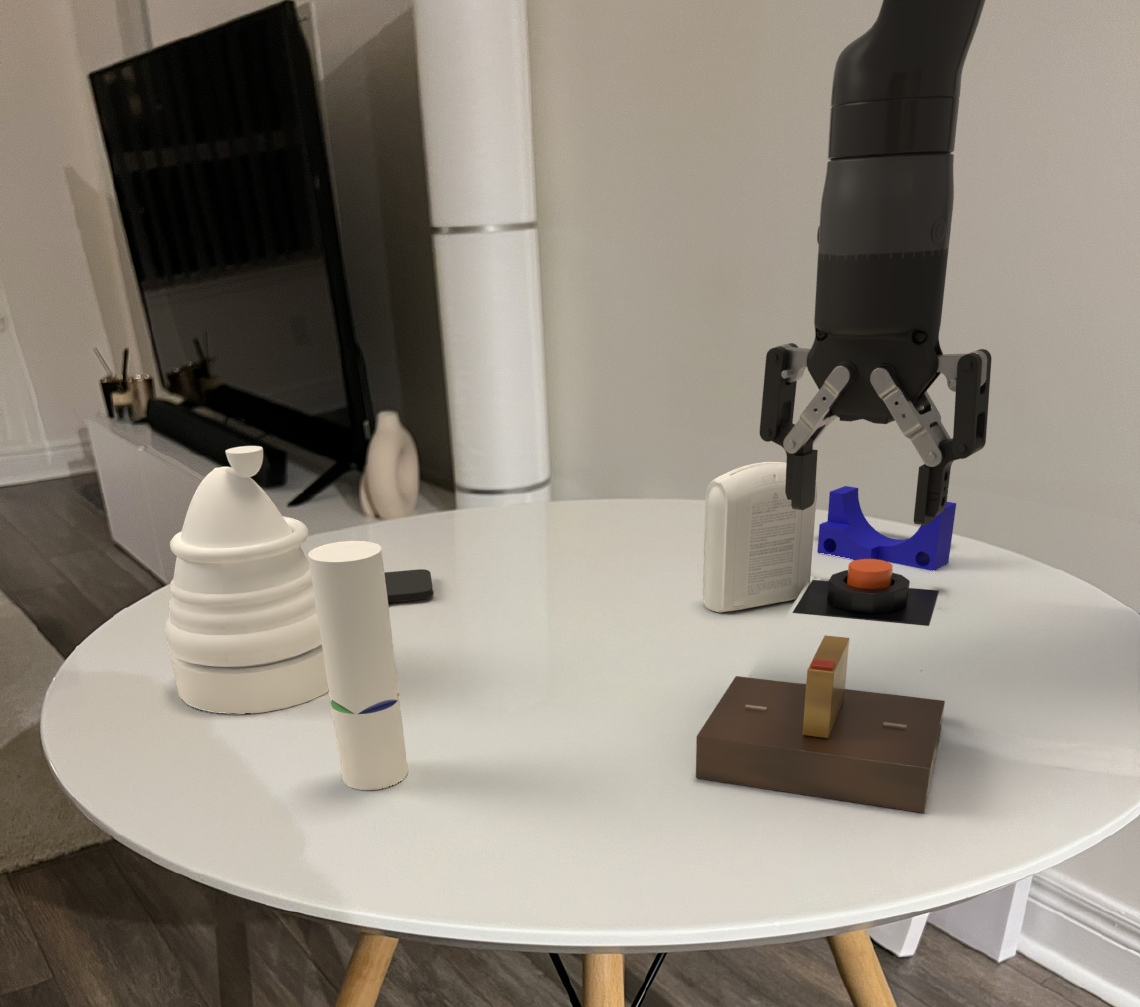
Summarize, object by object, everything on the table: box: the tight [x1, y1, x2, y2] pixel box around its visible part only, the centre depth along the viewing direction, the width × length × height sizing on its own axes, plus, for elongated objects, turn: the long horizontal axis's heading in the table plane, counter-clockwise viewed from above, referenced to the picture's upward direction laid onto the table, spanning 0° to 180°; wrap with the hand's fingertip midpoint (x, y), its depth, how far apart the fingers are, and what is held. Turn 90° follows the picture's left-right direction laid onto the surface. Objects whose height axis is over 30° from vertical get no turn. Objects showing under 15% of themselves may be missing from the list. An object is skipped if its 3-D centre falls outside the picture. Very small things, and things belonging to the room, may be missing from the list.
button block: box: [792, 569, 940, 627], centre depth 91 cm, size 11×9×4 cm
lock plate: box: [695, 675, 946, 814], centre depth 69 cm, size 14×10×3 cm
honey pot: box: [164, 445, 329, 715], centre depth 81 cm, size 13×13×18 cm
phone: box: [384, 568, 434, 603], centre depth 103 cm, size 7×1×15 cm
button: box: [847, 559, 894, 589], centre depth 90 cm, size 4×4×2 cm
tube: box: [307, 540, 409, 791], centre depth 67 cm, size 4×4×15 cm
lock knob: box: [803, 634, 850, 738], centre depth 67 cm, size 6×2×5 cm, turn 158°
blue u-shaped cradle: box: [816, 485, 957, 572], centre depth 106 cm, size 12×4×6 cm, turn 46°
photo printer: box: [702, 461, 818, 613], centre depth 95 cm, size 10×4×12 cm, turn 115°
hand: (861, 514), depth 71 cm, fingers open, 8 cm apart
